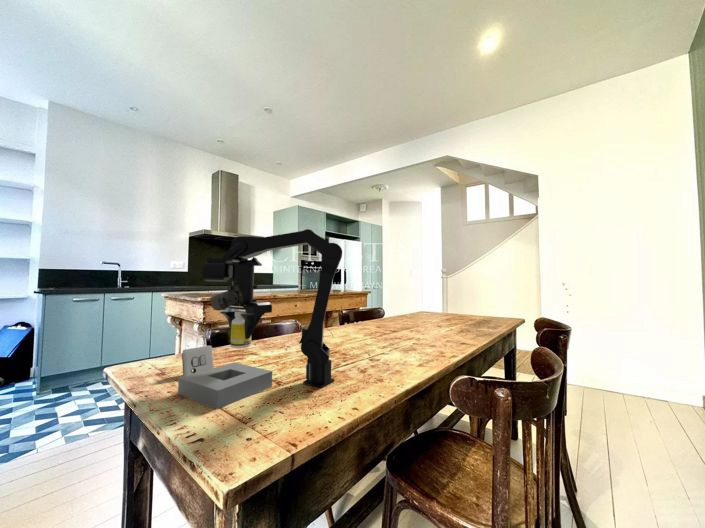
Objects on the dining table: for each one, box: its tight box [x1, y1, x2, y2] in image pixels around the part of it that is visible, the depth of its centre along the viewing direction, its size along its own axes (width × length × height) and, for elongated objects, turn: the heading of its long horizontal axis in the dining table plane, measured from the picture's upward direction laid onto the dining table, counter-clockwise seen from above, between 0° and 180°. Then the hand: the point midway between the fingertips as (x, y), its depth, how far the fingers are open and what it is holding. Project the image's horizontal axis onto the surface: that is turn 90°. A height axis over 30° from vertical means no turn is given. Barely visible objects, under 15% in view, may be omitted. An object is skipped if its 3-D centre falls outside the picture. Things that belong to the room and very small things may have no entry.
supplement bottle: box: [230, 310, 252, 349], centre depth 79 cm, size 5×5×10 cm
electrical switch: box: [181, 345, 215, 377], centre depth 86 cm, size 8×5×8 cm, turn 141°
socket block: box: [177, 362, 273, 410], centre depth 73 cm, size 16×16×4 cm
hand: (241, 337), depth 78 cm, fingers closed on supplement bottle, 5 cm apart
